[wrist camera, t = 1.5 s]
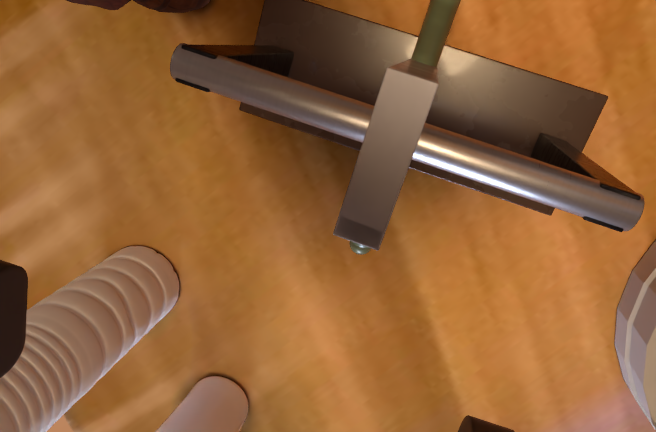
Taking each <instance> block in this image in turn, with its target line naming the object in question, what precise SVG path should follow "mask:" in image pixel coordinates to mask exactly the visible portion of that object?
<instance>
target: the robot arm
mask: <svg viewBox="0 0 656 432" xmlns="http://www.w3.org/2000/svg"><path fill="white" fill-rule="evenodd" d="M27 288H28V277H27V273H26V271H25V270H24V269H23V268H22V267H20V266H17V265H14V264H11V263H8V262H5V261H2V260H0V378H1V377H2V376H4V375H5V374H6V373H7V372H8V371H9V370H10V369H11V368H12V367H13V366H14V365H15V363H16V362H17V360H18V359H19V357H20V355H21V353H22V351H23V348H24V344H25V338H26V314H27ZM458 432H514V430H511V429H508V428H505V427H502V426H499V425H496V424H493V423H490V422H487V421H484V420H481V419H478V418H475V417H472V416H469V415H468V416H466V417H465V418H464V420H463V421H462V423H461V425H460V428H459V430H458Z"/></svg>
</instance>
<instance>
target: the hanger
mask: <svg viewBox="0 0 656 432" xmlns="http://www.w3.org/2000/svg"><path fill="white" fill-rule="evenodd" d="M459 3H460V0H431V2H430V5H429V8H428V11H427V13H426V16H425V19H424V22H423V25H422V28H421V31H420V34H419V37H418V40H417V43H416V46H415V49H414V52H413V55H412V58H411V59H408V60H406V61H403V62H401V63H398V64H396V65H394V66H390V67H387V69H386V72H385V75H384V78H383V81H382V84H381V87H380V90H379V94H378V97H377V100H376V103H375V106H374V109H373V112H372V115H371V118H370V121H369V124H368V127H367V131H366V134H365V137H364V140H363V143H362V146H361V149H360V152H359V155H358V158H357V161H356V164H355V168H354V171H353V174H352V177H351V180H350V183H349V186H348V189H347V192H346V195H345V198H344V201H343V204H342V208H341V211H340V214H339V217H338V220H337V223H336V226H335V229H334V232H333V235H336V236H338V237H341V238H344V239H347V240H350V247H351V249H352V251H353V252H355V253H356V254H361V255H362V254H366V253H368V252H369V251H370V250H371V248H372V249H375V250H379V248H380V245H381V242H382V240H383V237H384V234H385V231H386V229H387V226H388V223H389V220H390V218H391V215H392V212H393V209H394V207H395V204H396V201H397V198H398V196H399V193H400V190H401V187H402V185H403V182H404V179H405V176H406V174H407V171H408V168H409V165H410V163H411V160H412V157H413V154H414V152H415V149H416V146H417V143H418V141H419V138H420V135H421V132H422V130H423V127H424V124H425V121H426V119H427V116H428V113H429V110H430V108H431V105H432V102H433V99H434V97H435V94H436V91H437V88H438V86H439V82H438V68H437V64H438V62H439V59H440V56H441V53H442V50H443V48H444V45H445V42H446V39H447V36H448V34H449V31H450V28H451V25H452V22H453V20H454V17H455V14H456V11H457V8H458V6H459Z"/></svg>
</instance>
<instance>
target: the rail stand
mask: <svg viewBox="0 0 656 432" xmlns="http://www.w3.org/2000/svg"><path fill="white" fill-rule="evenodd" d="M418 37H419V36H416V35H413V34H409V33H406V32H403V31H400V30H397V29H394V28H390V27H387V26H384V25H381V24H378V23H375V22H371V21H368V20H365V19H362V18H359V17H356V16H352V15H349V14H346V13H343V12H340V11H337V10H333V9H330V8H327V7H324V6H321V5H318V4H314V3H311V2H308V1H305V0H265V1H264V5H263V9H262V14H261V18H260V22H259V27H258V31H257V35H256V40H255V44H254V45H188V44H185V43H181V44H179V45H178V46H177V47H176V49H175V51H174V53H173V55H172V58H171V63H170V72H171V76H172V77H173V78H174V79H175V80H176V81H177V82H179V83H182V84H185V85H188V86H191V87H194V88H197V89H200V90H203V91H206V92H214V93H217V94H220V95H223V96H225V97H228V98H231V99H234V100H237V101H240V102H241V104H240V110H241V111H244V112H247V113H250V114H253V115H256V116H259V117H261V118H264V119H267V120H270V121H273V122H276V123H279V124H282V125H285V126H288V127H291V128H294V129H297V130H300V131H303V132H306V133H309V134H312V135H314V136H317V137H320V138H323V139H326V140H329V141H332V142H335V143H338V144H341V145H344V146H347V147H350V148H353V149H356V150H359V151H360V149H361V146H362V143H363V140H364V137H365V134H366V131H367V127H368V124H369V121H370V118H371V115H372V112H373V109H374V106H375V103H376V100H377V97H378V94H379V90H380V87H381V84H382V81H383V78H384V75H385V72H386V69H387V67H390V66H394V65H396V64H398V63H401V62H403V61H406V60H408V59H411V58H412V55H413V52H414V49H415V46H416V43H417V40H418ZM437 68H438V82H439V86H438V88H437V91H436V94H435V97H434V99H433V102H432V105H431V108H430V110H429V113H428V116H427V119H426V121H425V124H424V127H423V130H422V132H421V135H420V138H419V141H418V143H417V146H416V149H415V152H414V154H413V157H412V160H411V163H410V165H409V168H412V169H415V170H418V171H420V172H423V173H426V174H429V175H432V176H435V177H438V178H441V179H444V180H447V181H450V182H453V183H456V184H459V185H462V186H465V187H468V188H471V189H473V190H476V191H479V192H482V193H485V194H488V195H491V196H494V197H497V198H500V199H503V200H506V201H509V202H512V203H515V204H518V205H521V206H524V207H526V208H529V209H532V210H535V211H538V212H541V213H544V214H547V215H552V213H553V211H554V209H555V208H557V209H560V210H563V211H566V212H569V213H572V214H575V215H578V216H581V217H582V218H583V219H584V220H587V221H590V222H593V223H596V224H599V225H602V226H604V227H607V228H610V229H613V230H616V231H619V232H622V231H629V230H631V229H632V228H633V227H634V226H635V225H636V224H637V222H638V221H639V219H640V217H641V215H642V212H643V209H644V197H643V196H642V195H641V194H639V193H636V192H634V191H633V190H632V189H630V188H629V187H627V186H626V185H625V184H623V183H622V182H621V181H619V180H618V179H617V178H615V177H614V176H613V175H611V174H610V173H608V172H607V171H606V170H604V169H603V168H602V167H600V166H599V165H598V164H596V163H595V162H593V161H592V160H591V159H589V158H588V157H587V156H585V155H584V154H583V153H582V151H583V149H584V146H585V144H586V142H587V140H588V138H589V136H590V134H591V132H592V130H593V128H594V126H595V124H596V122H597V120H598V117H599V115H600V113H601V111H602V109H603V107H604V105H605V103H606V101H607V99H608V96H606V95H603V94H600V93H596V92H593V91H590V90H587V89H584V88H581V87H577V86H574V85H571V84H568V83H565V82H562V81H558V80H555V79H552V78H549V77H546V76H543V75H539V74H536V73H533V72H530V71H527V70H524V69H520V68H517V67H514V66H511V65H508V64H505V63H501V62H498V61H495V60H492V59H489V58H486V57H482V56H479V55H476V54H473V53H470V52H466V51H463V50H460V49H457V48H454V47H451V46H447V45H444V48H443V50H442V53H441V56H440V59H439V62H438V64H437Z"/></svg>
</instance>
